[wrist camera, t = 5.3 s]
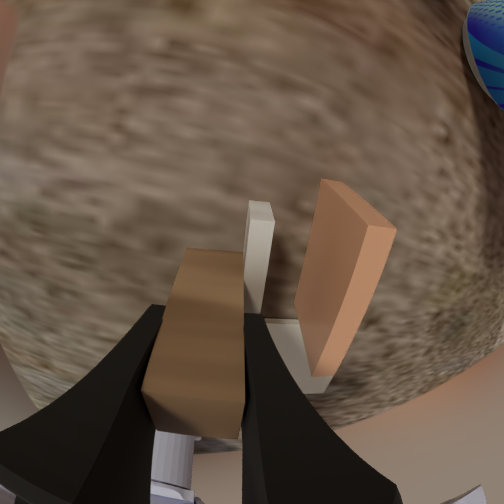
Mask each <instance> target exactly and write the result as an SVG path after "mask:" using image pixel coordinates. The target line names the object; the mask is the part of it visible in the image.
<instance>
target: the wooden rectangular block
mask: <svg viewBox="0 0 504 504" xmlns="http://www.w3.org/2000/svg"><path fill="white" fill-rule="evenodd" d="M274 225H275V220H274V217H273V213H272V209H271V206H270V202H261V201H250V200H249V205H248V214H247V223H246V232H245V242H244V251H243V252H230V251H218V250H206V249H193V248H187V249H186V252H185V254H184V257H183V260H182V262H181V265H180V268H179V271H178V273H177V276H176V279H175V282H174V285H173V288H172V291H171V293H170V296H169V299H168V302H167V305H166V308H165V311H164V314H163V317H162V319H163V321H162V323H161V326H160V328H159V330H158V333H157V336H156V340H155V343H154V346H153V349H152V353H151V356H150V360H149V363H148V366H147V370H146V374H145V377H144V381H143V384H142V388H141V392H142V395H143V397H144V400H145V403H146V405H147V408H148V410H149V413H150V415H151V418H152V420H153V422H154V425H155V427H156V429H157V431H162V432H168V433H175V434H182V435H190V436H199V437H210V438H225V439H238V436H239V431H240V426H241V421H242V416H243V410H244V405H245V363H244V331H243V326H244V313H256V314H260V312H261V306H262V300H263V294H264V288H265V282H266V275H267V269H268V263H269V257H270V250H271V244H272V238H273V231H274Z"/></svg>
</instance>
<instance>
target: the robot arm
mask: <svg viewBox="0 0 504 504" xmlns="http://www.w3.org/2000/svg"><path fill="white" fill-rule="evenodd" d="M165 308H166V306H163V305H154V304H152V305H151V306H149V308H148V309H147V310H146V311H145V312H144V314H143V315H142V316H141V317H140V319H139V320H138V321H137V322H136V323H135V324H134V326H133V327H132V328H131V329H130V330H129V331H128V333H127V334H126V335H125V336H124V337H123V338H122V339H121V340H120V342H119V343H118V344H117V345H116V346H115V347H114V348H113V349H112V350H111V351H110V352H109V353H108V354H107V355H106V356H105V357H104V358H103V359H102V360H101V361H100V362H99V363H98V365H97V366H96V367H94V368H93V369H92V370H91V371H90V372H89V373H88V374H87V375H86V376H85V377H84V378H82V379H81V380H80V381H79V382H78V383H77V384H76V385H74V386H73V387H72V388H71V389H69V390H68V391H67V392H65V393H64V394H63V395H62V396H60V397H59V398H58V399H56V400H55V401H53V402H52V403H51V404H49V405H48V406H46V407H45V408H43V409H41V410H40V411H38V412H37V413H35V414H33V415H32V416H30V417H29V418H27V419H25V420H23V421H21V422H20V423H17V424H16V425H13V426H11V427H9V428H7V429H5V430H3V431H1V432H0V504H204V503H203V502H202V501H201V499H200V498H199V497H194V493H195V492H194V491H191V479H192V464H193V452H194V441H195V440H198V441H199V440H201V437H199V436H190V435H182V434H175V433H168V432H162V431H157V429H156V427H155V425H154V422H153V420H152V418H151V415H150V413H149V410H148V408H147V405H146V403H145V400H144V397H143V395H142V392H141V388H142V384H143V381H144V377H145V374H146V370H147V366H148V363H149V360H150V356H151V353H152V349H153V346H154V343H155V340H156V336H157V333H158V330H159V328H160V326H161V323H162V321H163V319H162V317H163V314H164V311H165ZM243 331H244V363H245V405H244V410H243V416H242V421H241V428H242V443H243V459H242V462H243V463H242V465H243V467H242V471H243V473H242V504H403V503H402V499H401V495H400V493H399V491H398V488H397V485H396V484H394V483H393V482H391V481H390V480H389V479H387V478H386V477H384V476H383V475H382V474H380V473H379V472H377V471H376V470H375V469H374V468H372V467H371V466H370V465H369V464H367V463H366V462H365V461H364V460H363V459H362V458H360V457H359V456H358V455H357V454H356V453H355V452H354V451H353V450H351V449H350V447H349V446H348V445H347V444H346V443H345V442H344V441H343V440H342V439H341V438H340V437H338V436H337V435H336V433H335V432H334V431H333V430H332V429H331V428H330V427H329V426H328V425H327V423H326V422H325V421H324V420H323V419H322V418H321V416H320V415H319V414H318V413H317V411H316V410H315V409H314V407H313V406H312V405H311V404H310V402H309V401H308V399H307V398H306V397H305V395H304V394H303V392H302V391H301V389H300V388H299V386H298V385H297V383H296V382H295V380H294V378H293V377H292V375H291V373H290V372H289V370H288V368H287V366H286V365H285V363H284V361H283V359H282V357H281V355H280V354H279V352H278V350H277V348H276V346H275V343H274V341H273V339H272V337H271V335H270V332H269V330H268V327H267V325H266V322H265V319H264V316H263V315H262V314H256V313H244V326H243ZM441 504H487V502H486V498H485V495H484V491H483V488H482V485H478V486H476V487H475V488H473V489H471V490H469V491H467V492H465V493H464V494H462V495H460V496H458V497H456V498H453V499H451V500H448V501H446V502H444V503H441Z"/></svg>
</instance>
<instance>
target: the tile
mask: <svg viewBox="0 0 504 504" xmlns="http://www.w3.org/2000/svg"><path fill="white" fill-rule="evenodd" d="M396 231H397V229H396V228H395V227H394V226H393V225H392V224H391V223H390V222H389V221H387V220H386V219H385V218H384V217H383V216H382V215H381V214H380V213H379V212H377V211H376V210H375V209H374V208H373V207H372V206H371V205H369V204H368V203H367V202H366V201H365V200H364V199H362V198H361V197H360V196H359V195H358V194H357V193H355V192H354V191H353V190H352V189H350V188H349V187H348V186H347V185H346V184H344V183H343V182H339V181H333V180H327V179H321V184H320V189H319V194H318V199H317V204H316V209H315V214H314V219H313V223H312V228H311V233H310V237H309V242H308V246H307V250H306V255H305V259H304V263H303V268H302V272H301V276H300V280H299V284H298V288H297V292H296V296H295V300H294V304H295V308H296V312H297V316H298V320H299V325H300V329H301V333H302V338H303V342H304V346H305V351H306V355H307V360H308V364H309V368H310V373H311V377H323V376H334V375H335V373H336V371H337V369H338V367H339V365H340V364H341V362H342V360H343V358H344V356H345V354H346V352H347V350H348V348H349V346H350V344H351V342H352V340H353V338H354V336H355V334H356V332H357V329H358V327H359V325H360V323H361V321H362V319H363V316H364V314H365V312H366V310H367V307H368V305H369V303H370V300H371V298H372V296H373V293H374V291H375V288H376V286H377V284H378V281H379V278H380V276H381V273H382V271H383V268H384V265H385V263H386V260H387V257H388V254H389V252H390V249H391V246H392V243H393V240H394V237H395V234H396Z"/></svg>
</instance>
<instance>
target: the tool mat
mask: <svg viewBox="0 0 504 504" xmlns="http://www.w3.org/2000/svg"><path fill="white" fill-rule="evenodd" d="M264 319H265V322H266V325H267V327H268V330H269V332H270V335H271V337H272V339H273V341H274V343H275V346H276V348H277V350H278V352H279V354H280V355H281V357H282V359H283V361H284V363H285V365H286V366H287V368H288V370H289V372H290V373H291V375H292V377H293V378H294V380H295V382H296V383H297V385H298V386H299V388H300V389H301V391H302V392H303V394H315V393H324V392H325V390H326V388H327V386H328V385H329V383H330V381H331V379H332V378H333V376H323V377H311V373H310V368H309V364H308V360H307V355H306V351H305V346H304V342H303V338H302V333H301V329H300V325H299V320H297V319H272V318H264Z"/></svg>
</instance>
